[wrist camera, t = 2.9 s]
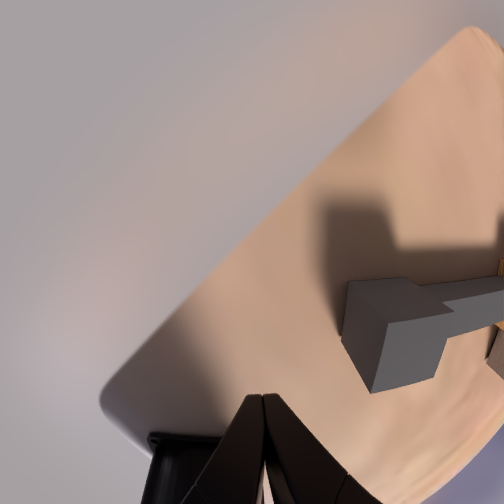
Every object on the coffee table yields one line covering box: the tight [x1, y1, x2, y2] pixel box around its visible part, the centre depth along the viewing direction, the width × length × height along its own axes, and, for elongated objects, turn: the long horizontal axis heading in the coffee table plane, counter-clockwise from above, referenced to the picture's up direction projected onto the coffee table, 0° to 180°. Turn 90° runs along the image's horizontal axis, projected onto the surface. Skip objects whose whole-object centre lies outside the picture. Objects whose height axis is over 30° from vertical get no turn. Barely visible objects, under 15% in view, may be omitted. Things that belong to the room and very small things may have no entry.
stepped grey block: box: [341, 275, 504, 394], centre depth 10 cm, size 11×3×4 cm, turn 91°
